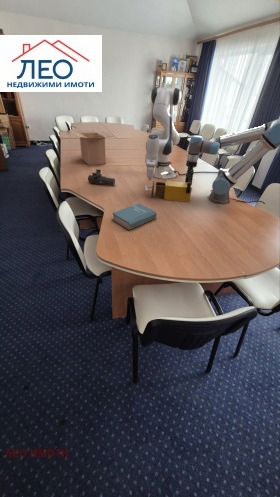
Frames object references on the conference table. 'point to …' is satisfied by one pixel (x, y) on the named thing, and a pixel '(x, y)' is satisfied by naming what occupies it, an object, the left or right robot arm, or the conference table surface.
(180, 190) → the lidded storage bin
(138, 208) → the book
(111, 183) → the laser sight
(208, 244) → the conference table surface
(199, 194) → the conference table surface
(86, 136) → the box
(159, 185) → the drawer
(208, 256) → the conference table surface
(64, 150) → the conference table surface
